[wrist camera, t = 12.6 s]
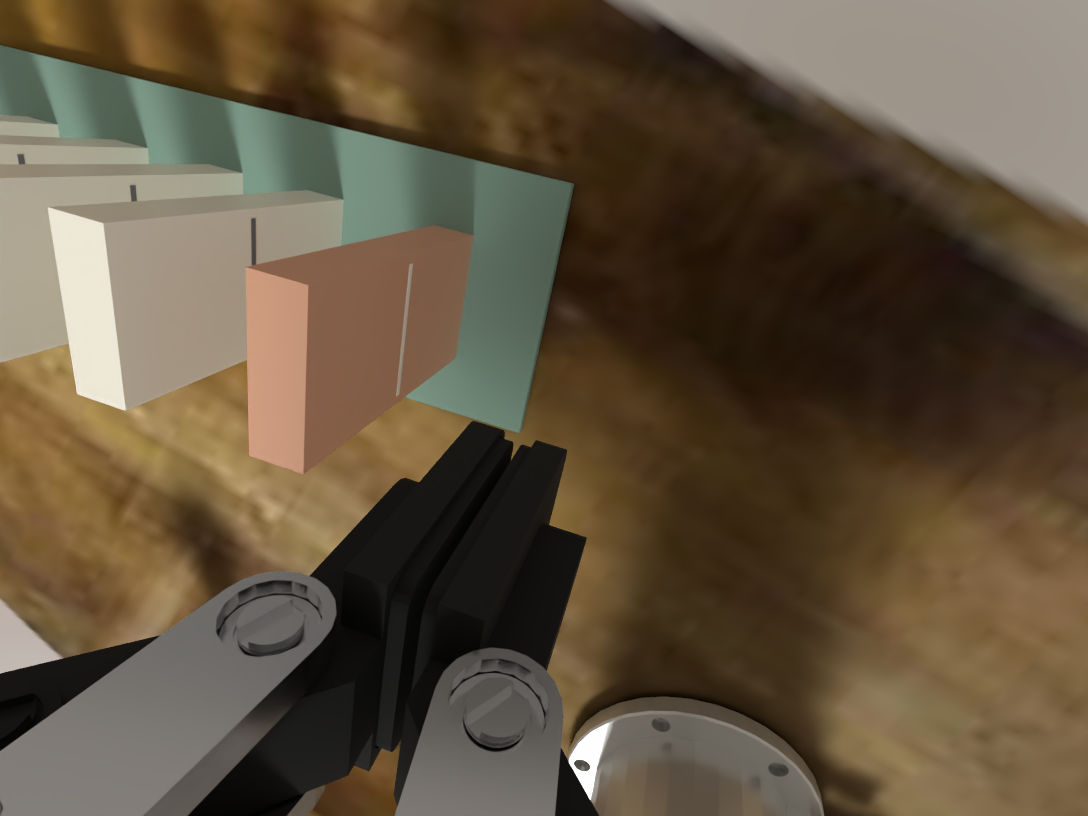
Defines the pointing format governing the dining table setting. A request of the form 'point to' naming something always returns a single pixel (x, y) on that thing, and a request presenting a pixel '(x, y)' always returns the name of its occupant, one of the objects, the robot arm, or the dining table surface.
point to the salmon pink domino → (347, 337)
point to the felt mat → (346, 202)
